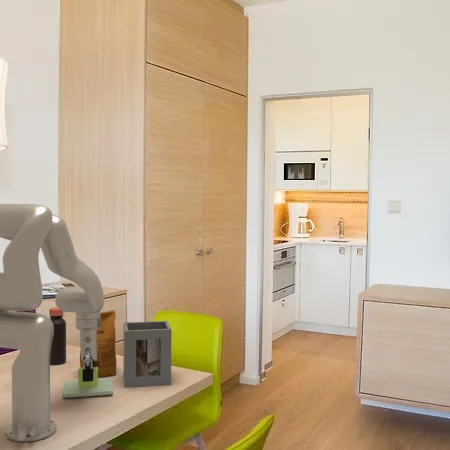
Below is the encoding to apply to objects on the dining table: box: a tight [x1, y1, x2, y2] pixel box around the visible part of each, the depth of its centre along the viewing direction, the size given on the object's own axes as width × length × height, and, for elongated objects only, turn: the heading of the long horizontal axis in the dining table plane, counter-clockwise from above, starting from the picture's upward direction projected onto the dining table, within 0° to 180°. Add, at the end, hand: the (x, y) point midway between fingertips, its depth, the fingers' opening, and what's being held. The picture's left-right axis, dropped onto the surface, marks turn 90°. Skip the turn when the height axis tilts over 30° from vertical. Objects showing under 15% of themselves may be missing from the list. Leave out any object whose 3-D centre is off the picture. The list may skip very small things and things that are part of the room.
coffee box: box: [136, 329, 160, 377], centre depth 189 cm, size 9×6×16 cm
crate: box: [122, 320, 172, 388], centre depth 189 cm, size 12×15×18 cm
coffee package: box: [79, 309, 117, 378], centre depth 195 cm, size 10×12×22 cm
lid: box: [61, 367, 114, 398], centre depth 178 cm, size 12×15×8 cm
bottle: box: [48, 306, 67, 366], centre depth 206 cm, size 7×7×20 cm
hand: (88, 376), depth 178 cm, fingers open, 9 cm apart
